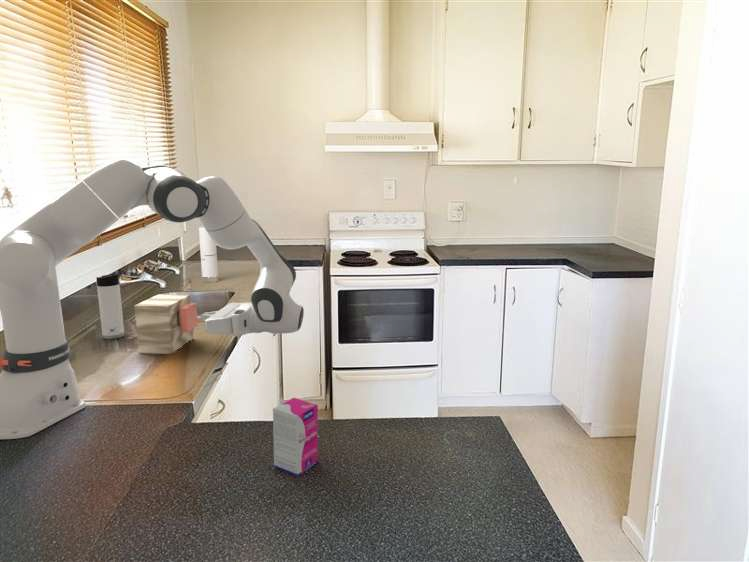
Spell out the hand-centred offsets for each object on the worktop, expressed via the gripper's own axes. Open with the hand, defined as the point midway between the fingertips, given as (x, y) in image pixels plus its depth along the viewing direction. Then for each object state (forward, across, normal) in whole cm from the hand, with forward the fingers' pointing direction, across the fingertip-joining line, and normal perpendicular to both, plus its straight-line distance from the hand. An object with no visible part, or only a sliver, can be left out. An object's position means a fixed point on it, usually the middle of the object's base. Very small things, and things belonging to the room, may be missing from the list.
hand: (202, 316), depth 161 cm
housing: (+12, 0, +9) cm, 15 cm away
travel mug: (+33, -7, +9) cm, 35 cm away
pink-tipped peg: (+10, 0, +4) cm, 11 cm away
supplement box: (-43, +61, +9) cm, 76 cm away
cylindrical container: (+36, -90, +10) cm, 97 cm away
